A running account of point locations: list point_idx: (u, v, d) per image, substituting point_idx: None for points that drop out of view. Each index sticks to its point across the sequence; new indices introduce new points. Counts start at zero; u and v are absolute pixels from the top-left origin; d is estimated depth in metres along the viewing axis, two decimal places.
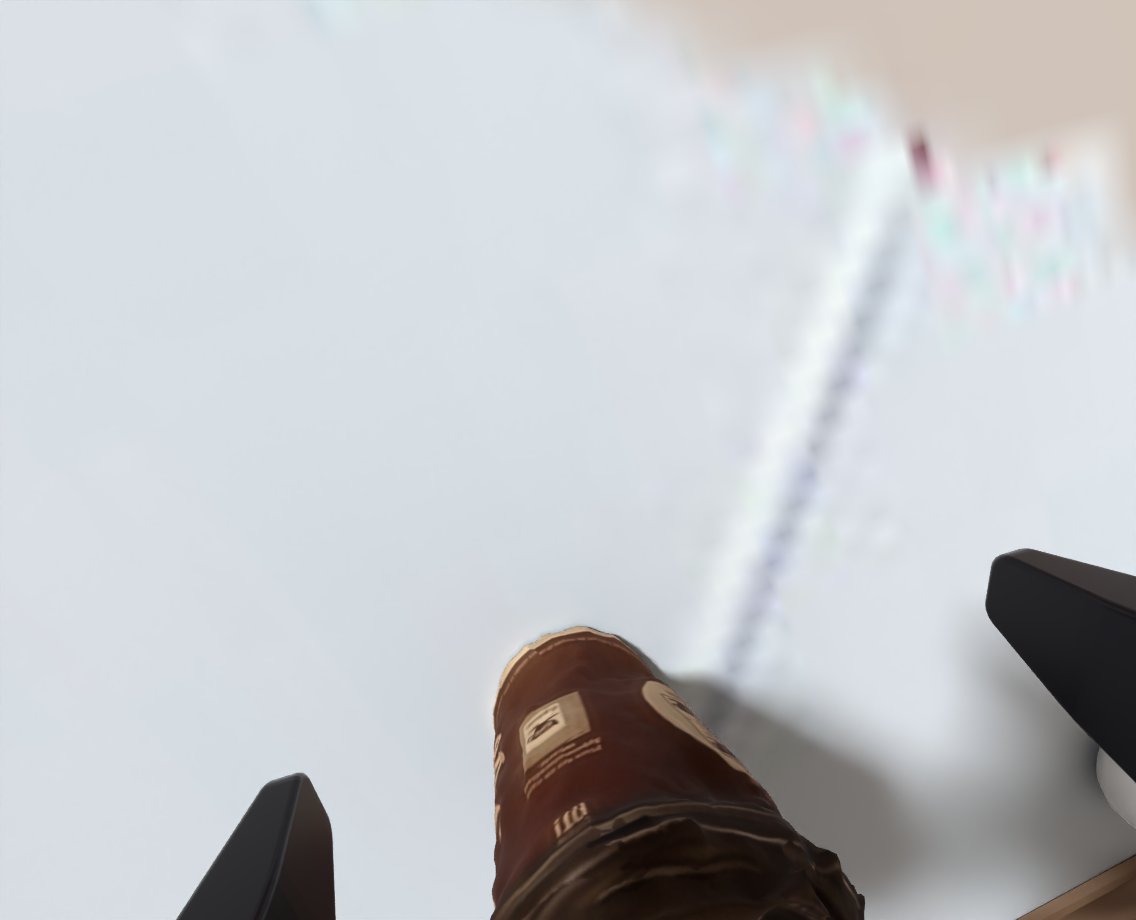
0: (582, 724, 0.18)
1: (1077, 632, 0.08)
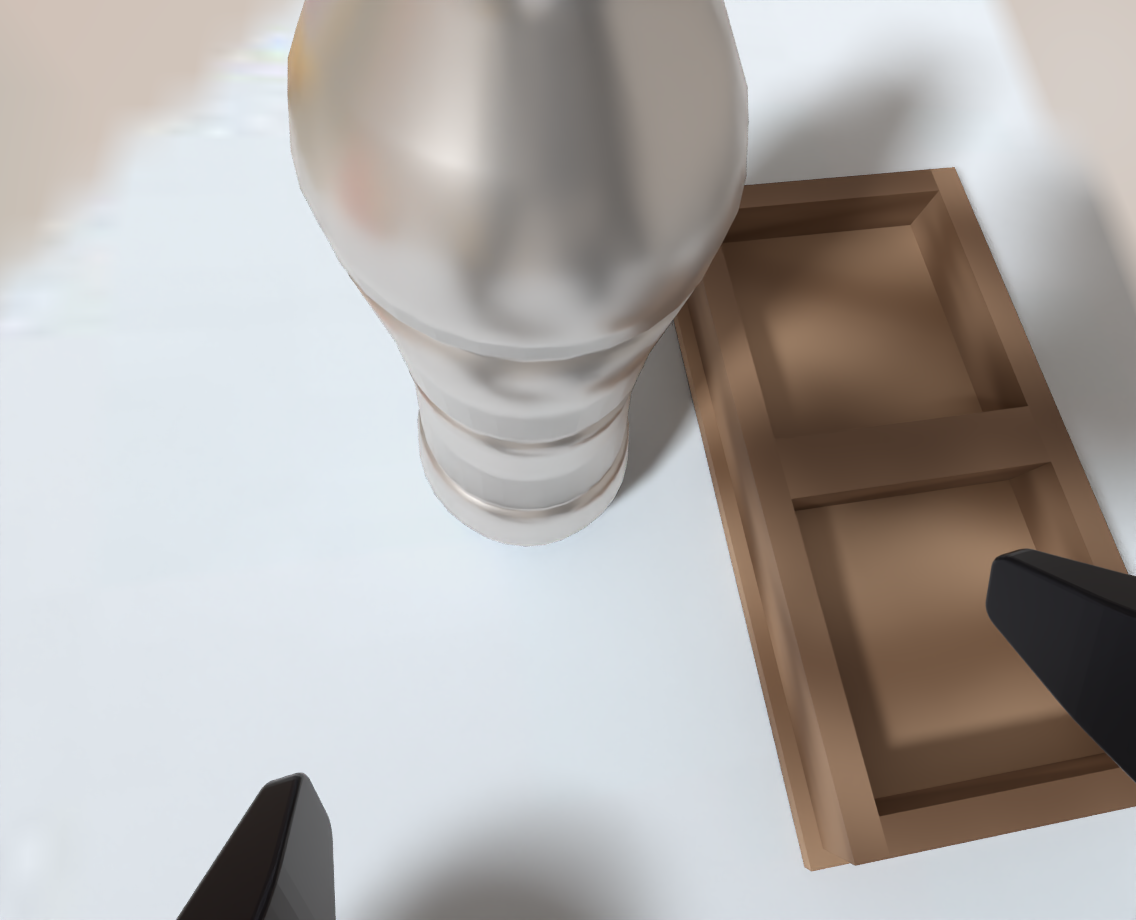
0: None
1: (1077, 632, 0.08)
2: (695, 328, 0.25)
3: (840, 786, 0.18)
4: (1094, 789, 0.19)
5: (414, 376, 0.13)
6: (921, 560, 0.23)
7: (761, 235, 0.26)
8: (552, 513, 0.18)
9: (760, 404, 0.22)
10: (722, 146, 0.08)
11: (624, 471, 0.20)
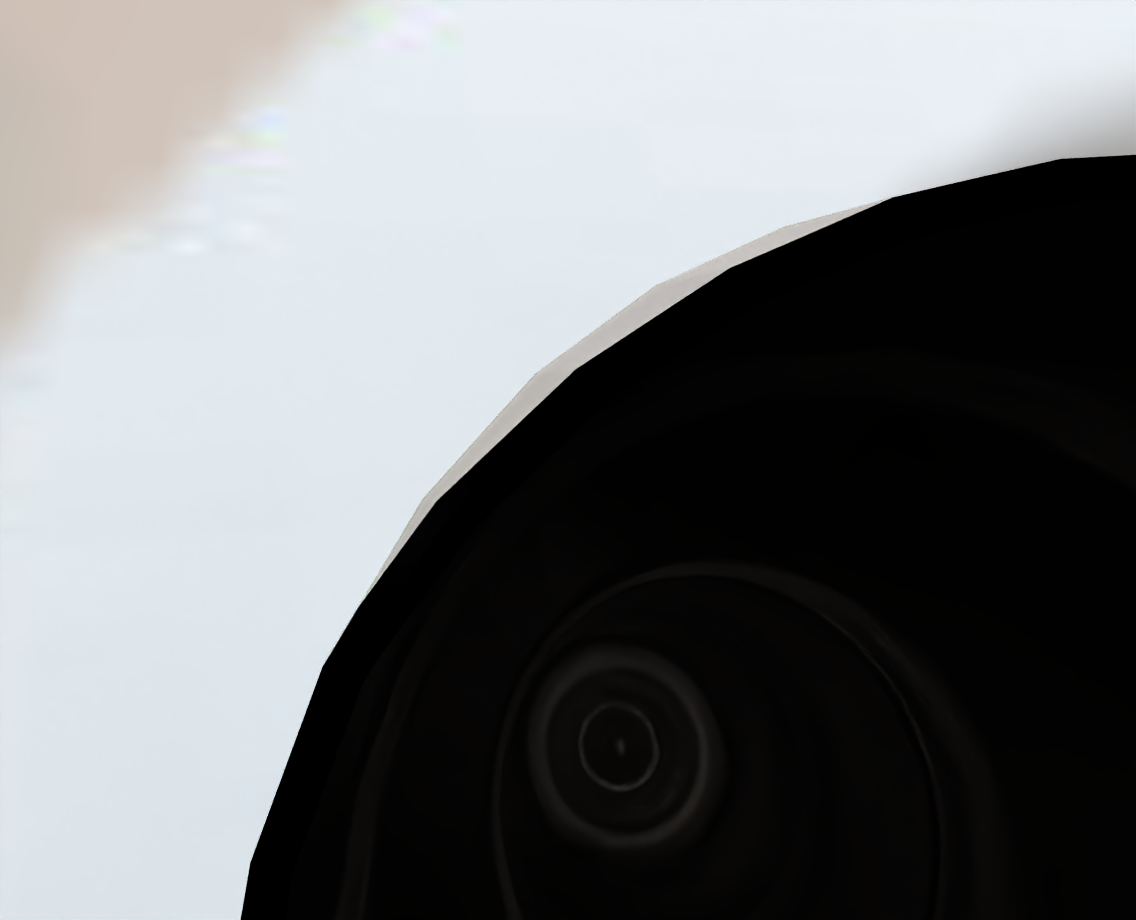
0: None
1: None
2: None
3: None
4: None
5: None
6: None
7: None
8: None
9: None
10: None
11: None
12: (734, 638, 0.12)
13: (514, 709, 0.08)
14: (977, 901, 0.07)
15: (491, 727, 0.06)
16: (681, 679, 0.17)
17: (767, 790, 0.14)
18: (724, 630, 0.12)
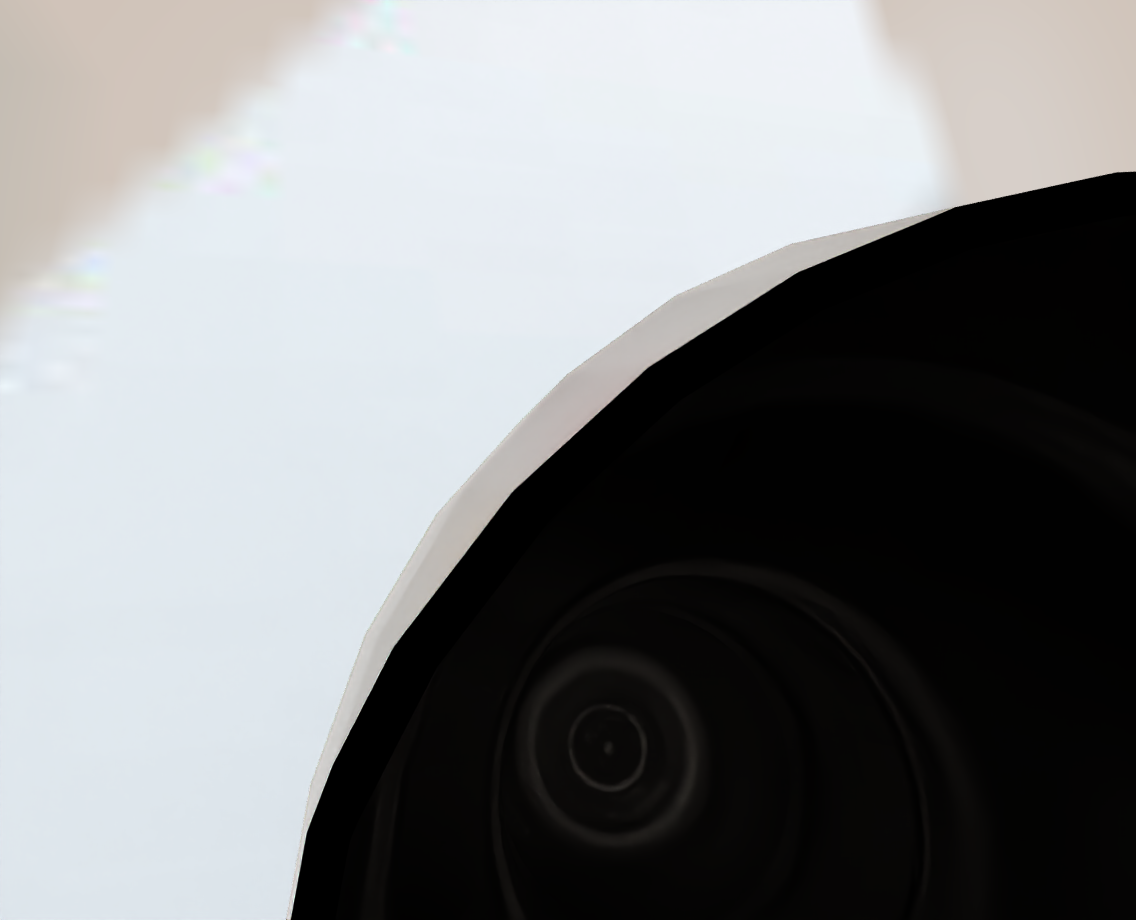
0: None
1: None
2: None
3: None
4: None
5: None
6: None
7: None
8: None
9: None
10: None
11: None
12: (723, 639, 0.13)
13: (512, 704, 0.08)
14: (958, 889, 0.07)
15: (493, 719, 0.06)
16: (669, 680, 0.17)
17: (754, 789, 0.15)
18: (713, 631, 0.13)
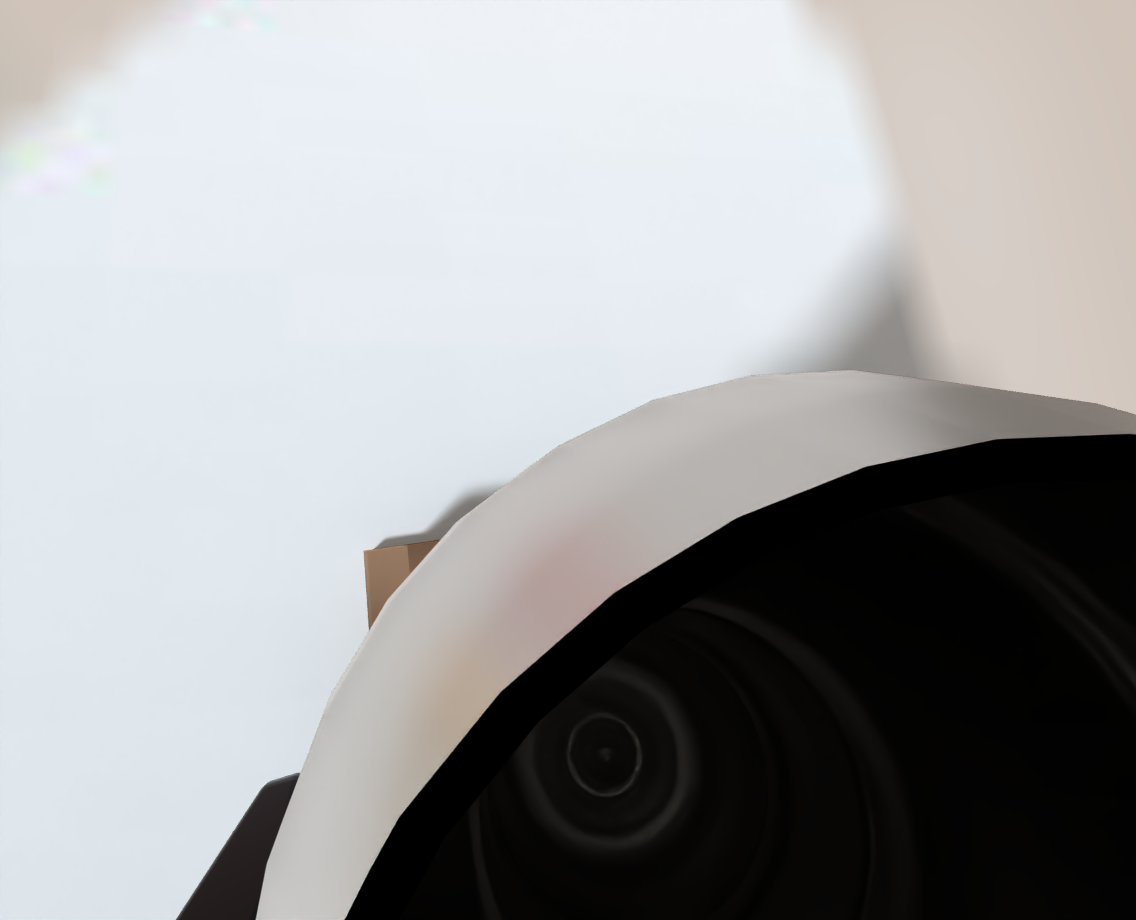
0: None
1: None
2: None
3: None
4: None
5: None
6: None
7: None
8: None
9: None
10: None
11: None
12: (707, 656, 0.13)
13: None
14: (894, 898, 0.08)
15: None
16: (663, 691, 0.17)
17: (741, 798, 0.15)
18: (697, 649, 0.13)
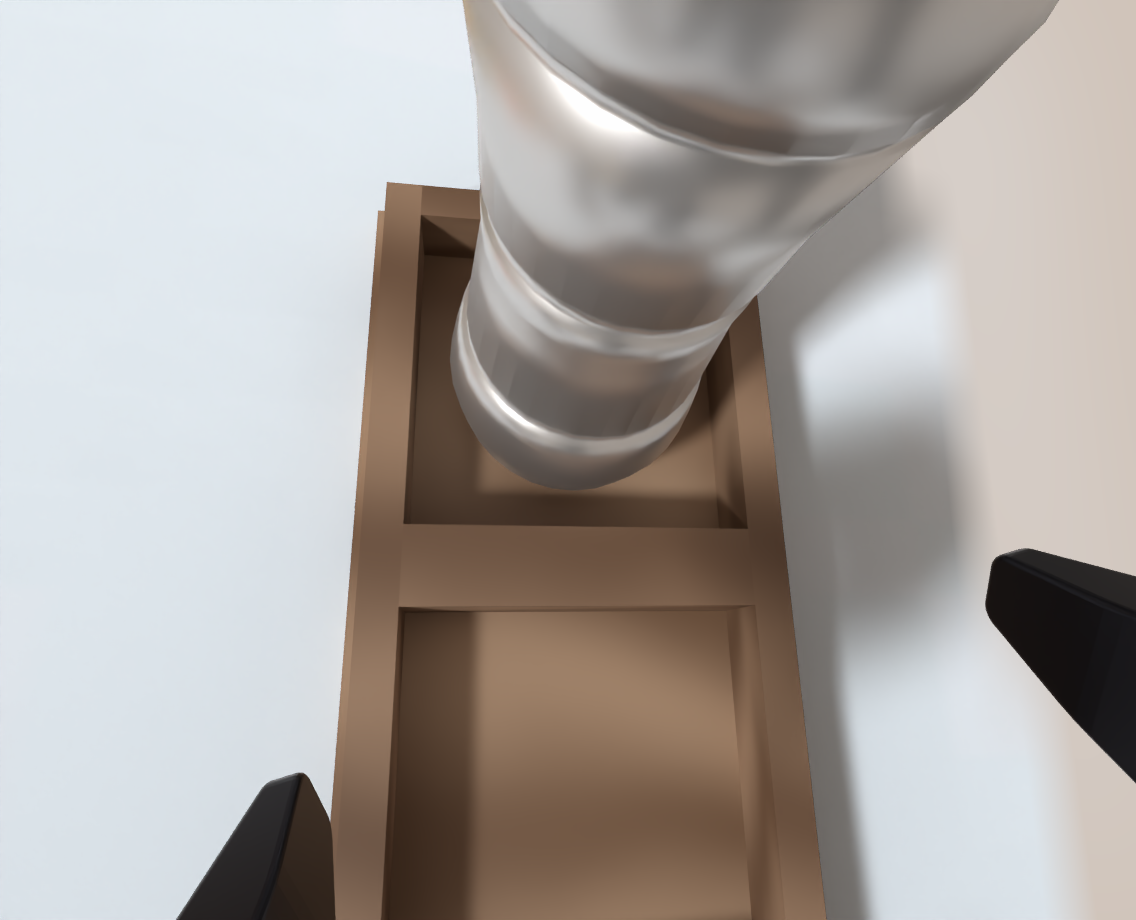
0: None
1: (1077, 632, 0.08)
2: None
3: None
4: None
5: (498, 215, 0.10)
6: (584, 699, 0.18)
7: None
8: (604, 448, 0.15)
9: (399, 474, 0.17)
10: None
11: None
12: None
13: None
14: None
15: None
16: None
17: None
18: None
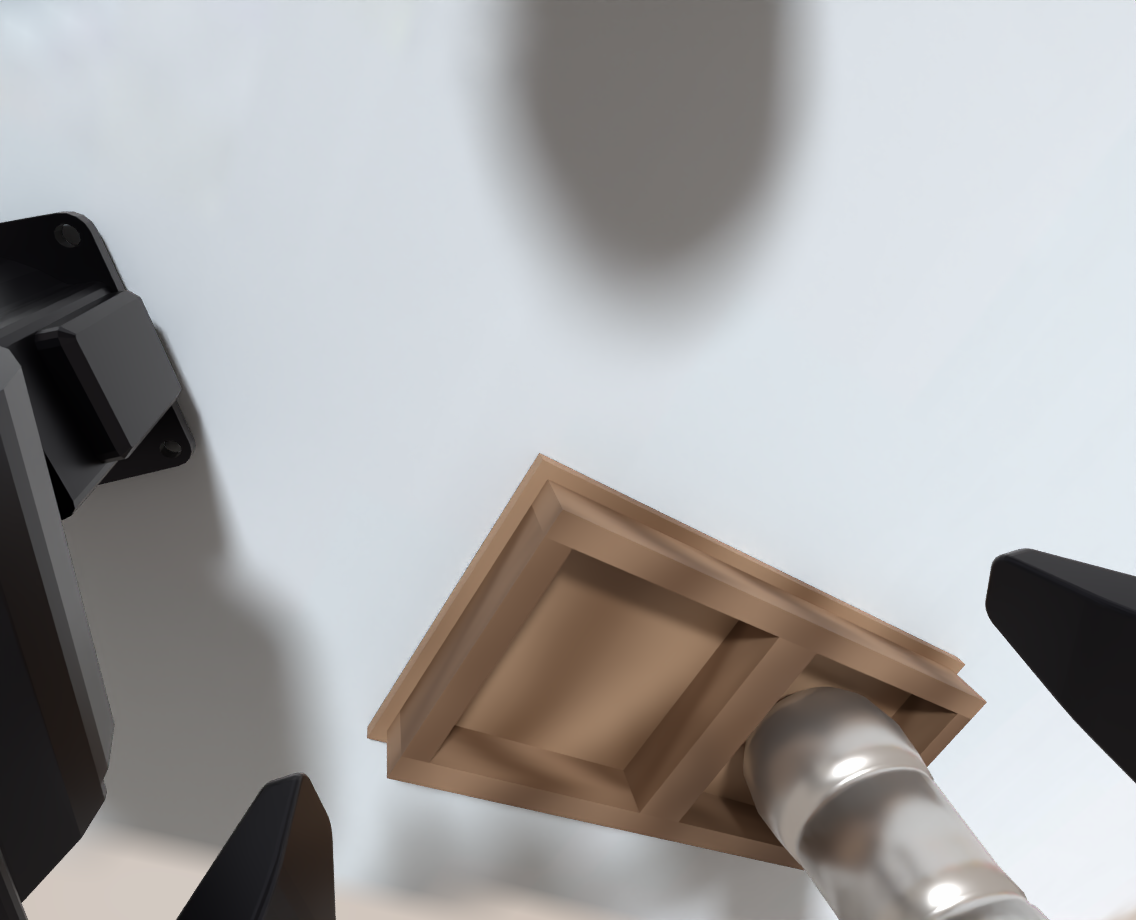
0: None
1: (1077, 632, 0.08)
2: (890, 642, 0.28)
3: (611, 536, 0.20)
4: (457, 700, 0.21)
5: None
6: (635, 680, 0.25)
7: None
8: (803, 808, 0.24)
9: (842, 659, 0.25)
10: None
11: (765, 822, 0.26)
12: None
13: None
14: None
15: None
16: None
17: None
18: None
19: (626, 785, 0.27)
